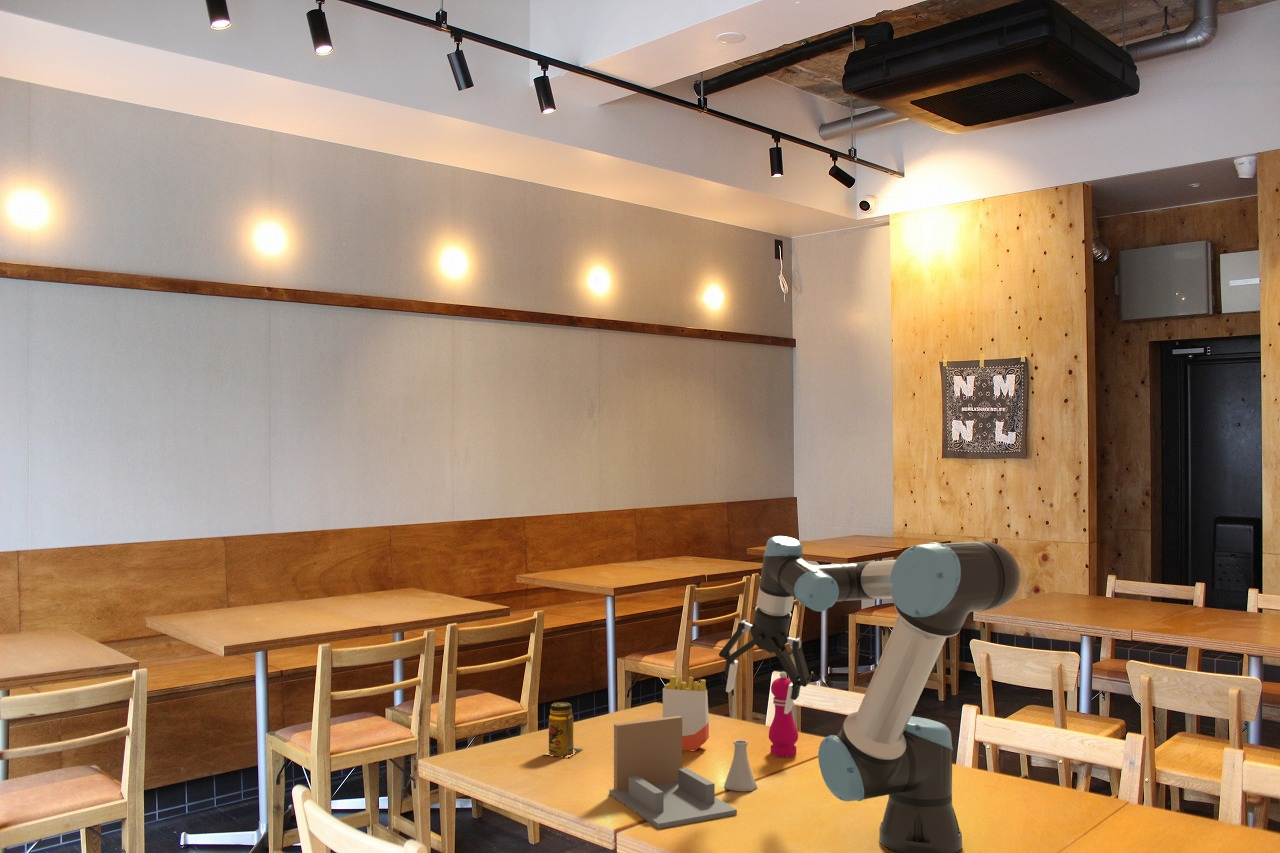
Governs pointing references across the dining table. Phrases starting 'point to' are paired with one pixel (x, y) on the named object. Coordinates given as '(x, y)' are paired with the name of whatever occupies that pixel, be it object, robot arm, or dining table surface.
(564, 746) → the condiment
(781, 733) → the pepper mill
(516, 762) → the dining table surface
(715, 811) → the shaker holder
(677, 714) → the french fries container
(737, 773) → the flask
